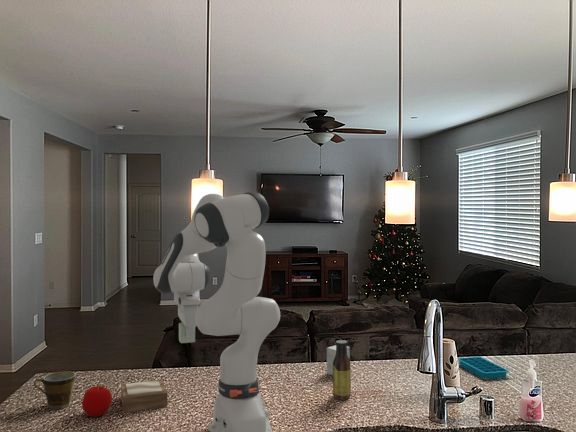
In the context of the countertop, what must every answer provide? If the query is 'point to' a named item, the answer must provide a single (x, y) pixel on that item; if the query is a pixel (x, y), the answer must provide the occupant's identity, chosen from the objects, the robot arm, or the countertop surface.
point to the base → (143, 395)
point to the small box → (330, 358)
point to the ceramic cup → (58, 388)
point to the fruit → (96, 401)
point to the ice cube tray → (483, 367)
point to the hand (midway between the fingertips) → (186, 335)
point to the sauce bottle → (341, 372)
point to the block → (182, 334)
